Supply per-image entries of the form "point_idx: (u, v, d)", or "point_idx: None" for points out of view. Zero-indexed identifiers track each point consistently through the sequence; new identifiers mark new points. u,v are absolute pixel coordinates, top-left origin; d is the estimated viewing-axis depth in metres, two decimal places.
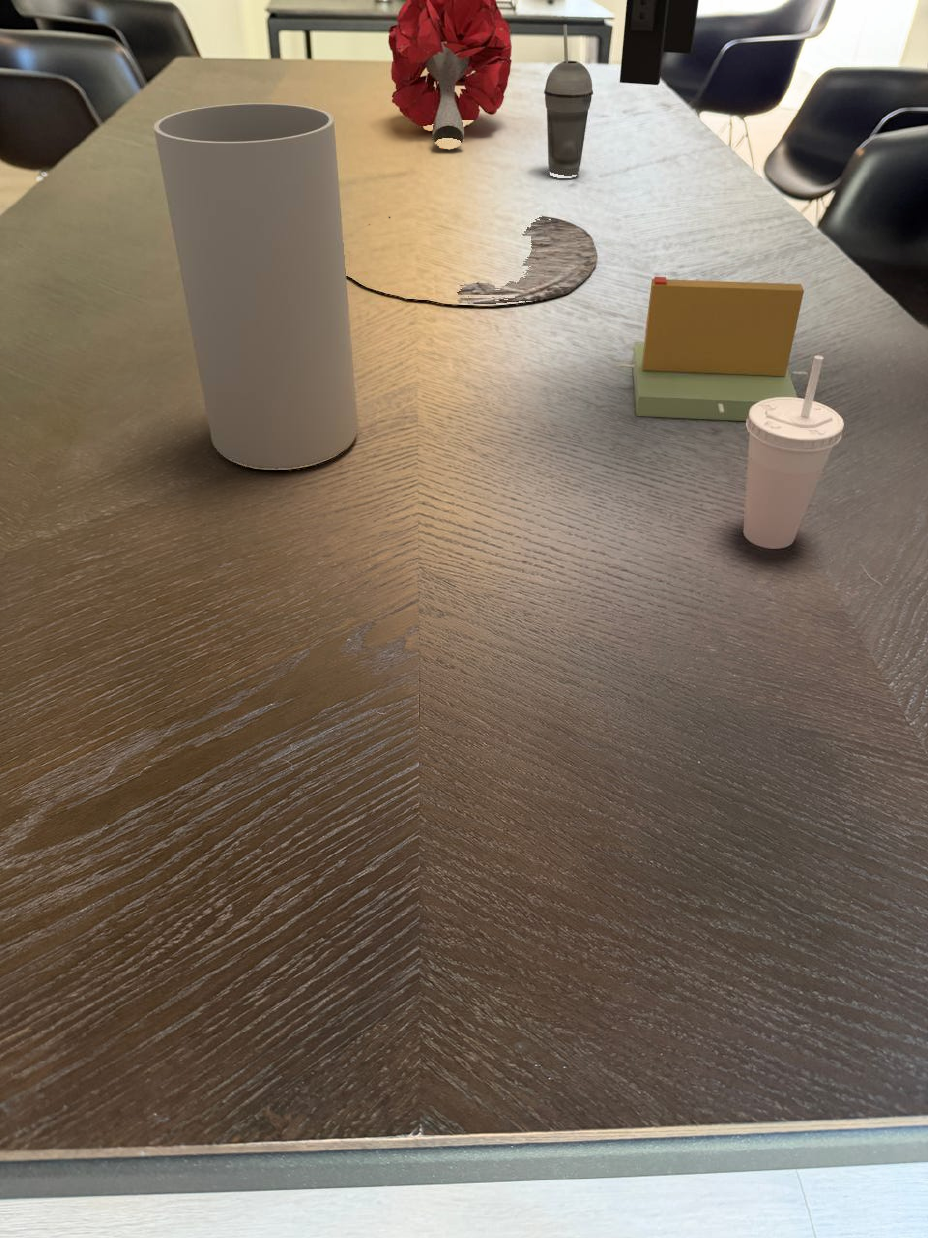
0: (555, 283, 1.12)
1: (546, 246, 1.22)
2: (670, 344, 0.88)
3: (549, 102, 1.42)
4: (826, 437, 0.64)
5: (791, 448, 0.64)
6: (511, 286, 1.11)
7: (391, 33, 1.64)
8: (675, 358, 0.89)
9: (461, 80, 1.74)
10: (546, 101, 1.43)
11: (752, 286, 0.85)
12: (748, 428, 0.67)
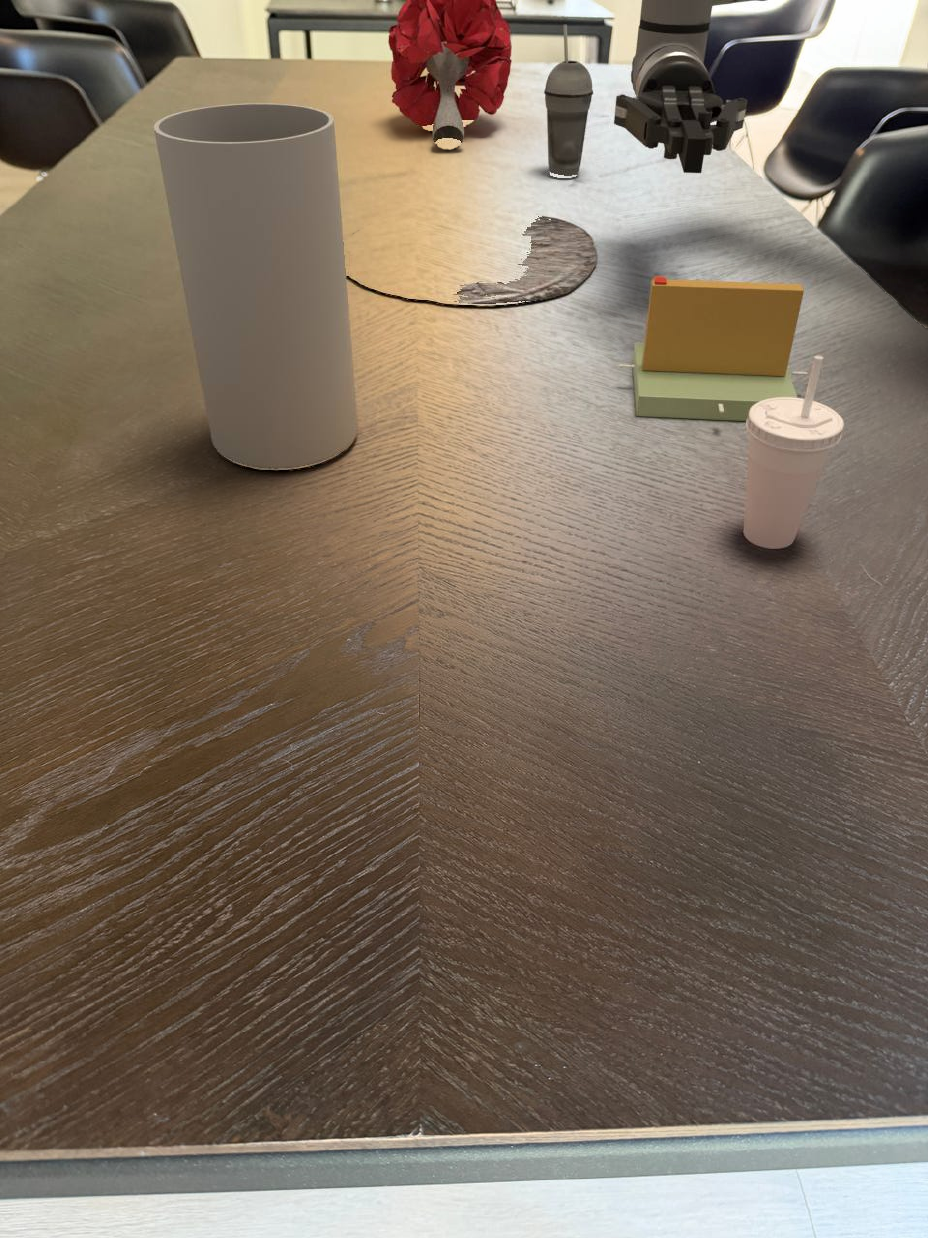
0: (555, 283, 1.12)
1: (546, 246, 1.22)
2: (670, 344, 0.88)
3: (549, 102, 1.42)
4: (826, 437, 0.64)
5: (791, 448, 0.64)
6: (511, 286, 1.11)
7: (391, 33, 1.64)
8: (675, 358, 0.89)
9: (461, 80, 1.74)
10: (546, 101, 1.43)
11: (752, 286, 0.85)
12: (748, 428, 0.67)
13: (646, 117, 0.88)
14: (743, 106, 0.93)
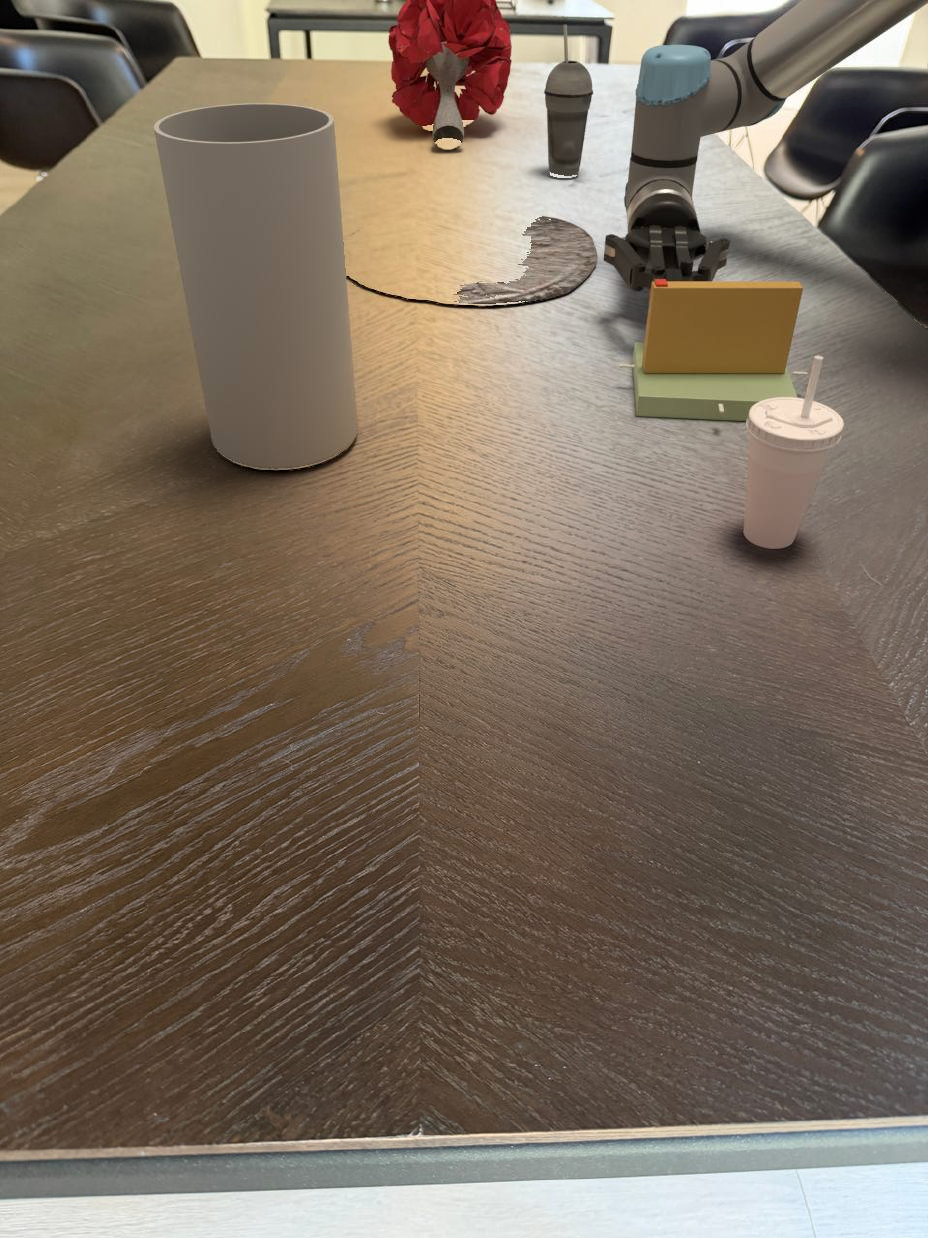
0: (555, 283, 1.12)
1: (546, 246, 1.22)
2: (671, 346, 0.88)
3: (549, 102, 1.42)
4: (826, 437, 0.64)
5: (791, 448, 0.64)
6: (511, 286, 1.11)
7: (391, 33, 1.64)
8: (676, 360, 0.89)
9: (461, 80, 1.74)
10: (546, 101, 1.43)
11: (752, 285, 0.85)
12: (748, 428, 0.67)
13: (632, 263, 0.93)
14: (726, 246, 0.98)
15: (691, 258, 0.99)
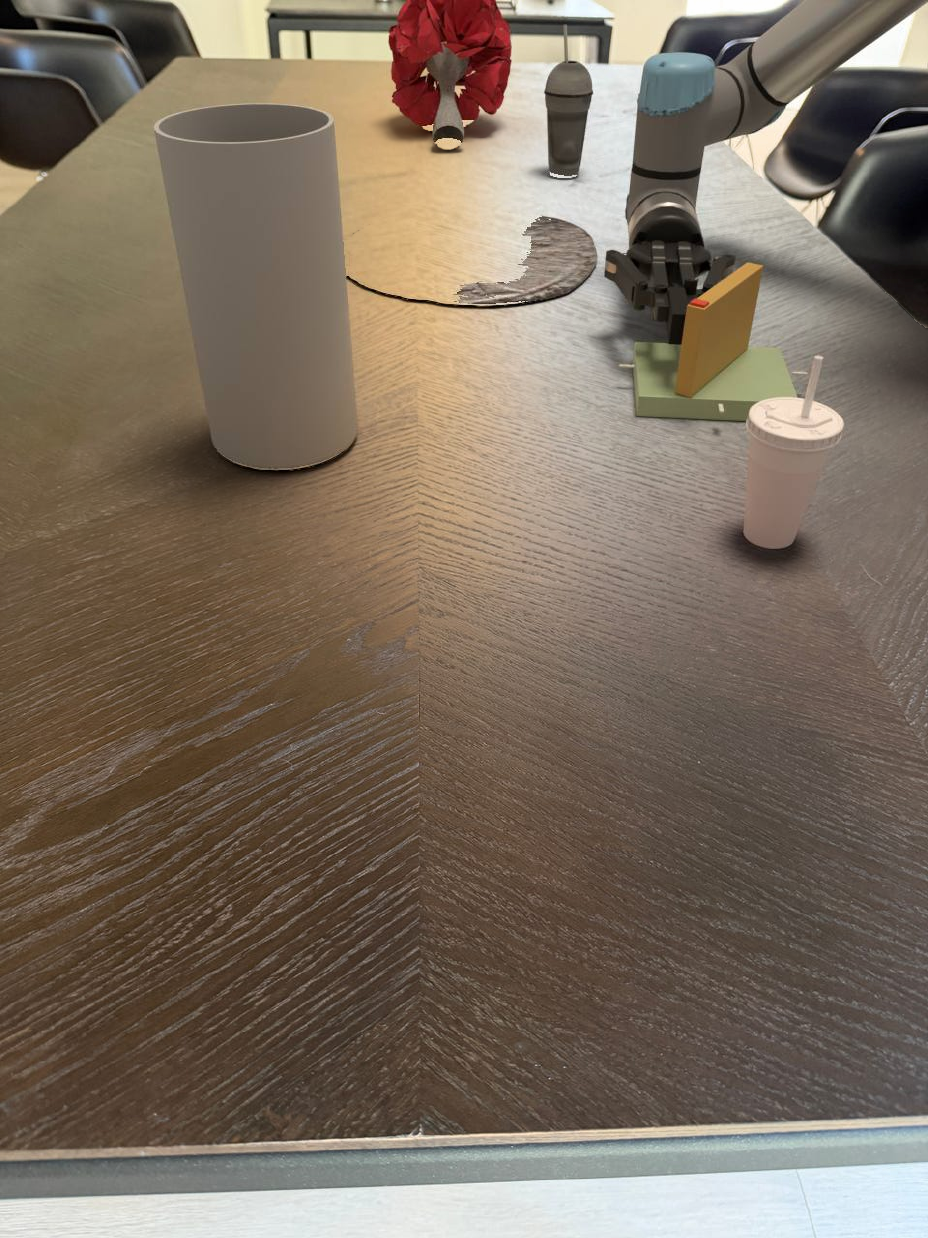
0: (555, 283, 1.12)
1: (546, 246, 1.22)
2: (705, 360, 0.85)
3: (549, 102, 1.42)
4: (826, 437, 0.64)
5: (791, 448, 0.64)
6: (511, 286, 1.11)
7: (391, 33, 1.64)
8: (706, 372, 0.86)
9: (461, 80, 1.74)
10: (546, 101, 1.43)
11: (740, 277, 0.86)
12: (748, 428, 0.67)
13: (633, 281, 0.90)
14: (731, 263, 0.95)
15: (695, 274, 0.96)
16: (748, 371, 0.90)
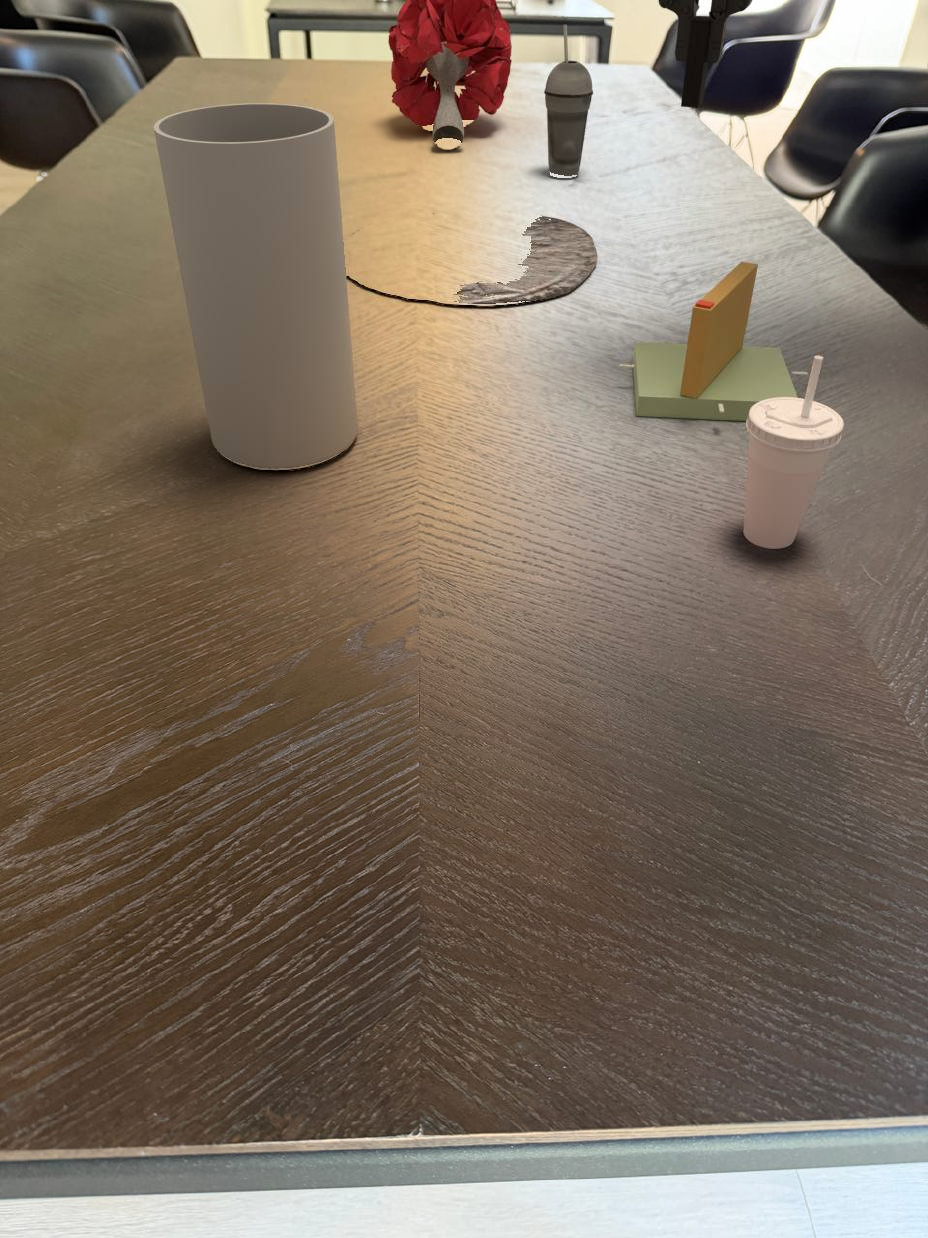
0: (555, 283, 1.12)
1: (546, 246, 1.22)
2: (710, 361, 0.85)
3: (549, 102, 1.42)
4: (826, 437, 0.64)
5: (791, 448, 0.64)
6: (511, 286, 1.11)
7: (391, 33, 1.64)
8: (710, 373, 0.86)
9: (461, 80, 1.74)
10: (546, 101, 1.43)
11: (738, 277, 0.86)
12: (748, 428, 0.67)
13: None
14: None
15: None
16: (748, 371, 0.90)
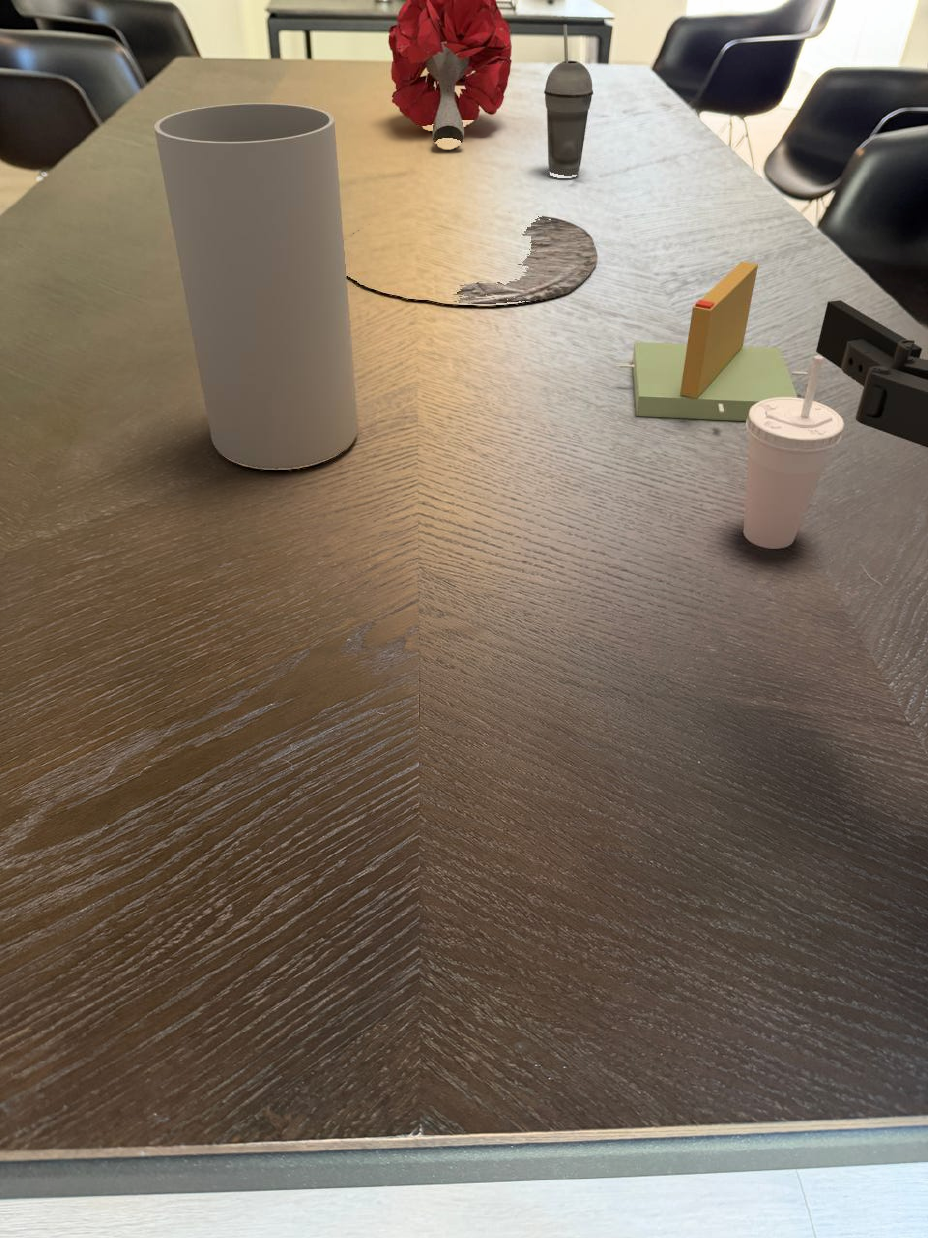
0: (555, 283, 1.12)
1: (546, 246, 1.22)
2: (710, 361, 0.85)
3: (549, 102, 1.42)
4: (826, 437, 0.64)
5: (791, 448, 0.64)
6: (511, 286, 1.11)
7: (391, 33, 1.64)
8: (710, 373, 0.86)
9: (461, 80, 1.74)
10: (546, 101, 1.43)
11: (738, 277, 0.86)
12: (748, 428, 0.67)
13: (873, 425, 0.45)
14: None
15: None
16: (748, 371, 0.90)
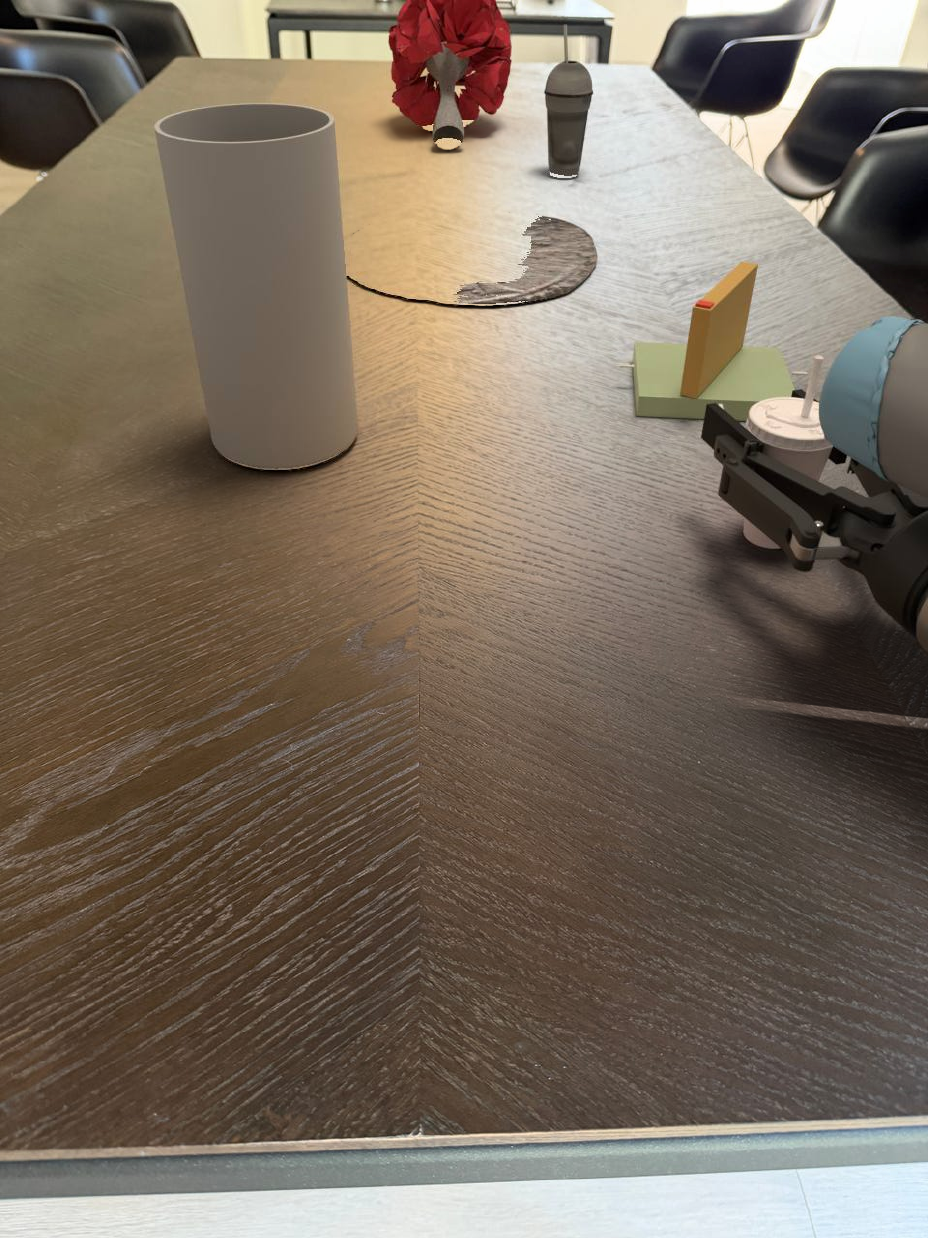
0: (555, 283, 1.12)
1: (546, 246, 1.22)
2: (710, 361, 0.85)
3: (549, 102, 1.42)
4: None
5: (791, 448, 0.64)
6: (511, 286, 1.11)
7: (391, 33, 1.64)
8: (710, 373, 0.86)
9: (461, 80, 1.74)
10: (546, 101, 1.43)
11: (738, 277, 0.86)
12: (748, 428, 0.67)
13: (724, 498, 0.64)
14: None
15: None
16: (748, 371, 0.90)
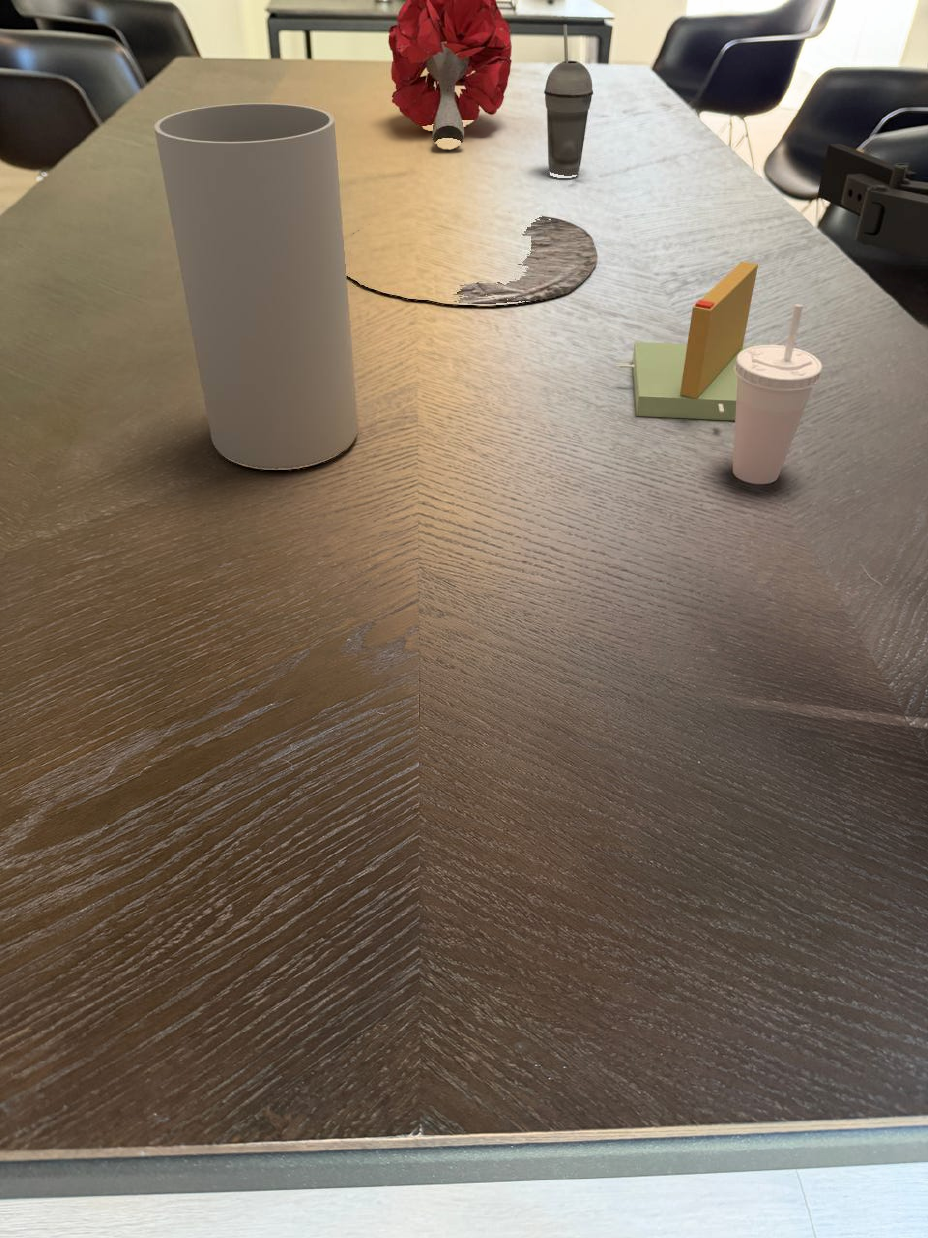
0: (555, 283, 1.12)
1: (546, 246, 1.22)
2: (710, 361, 0.85)
3: (549, 102, 1.42)
4: (805, 377, 0.71)
5: (774, 388, 0.71)
6: (511, 286, 1.11)
7: (391, 33, 1.64)
8: (710, 373, 0.86)
9: (461, 80, 1.74)
10: (546, 101, 1.43)
11: (738, 277, 0.86)
12: (736, 371, 0.74)
13: (872, 242, 0.48)
14: None
15: None
16: None
